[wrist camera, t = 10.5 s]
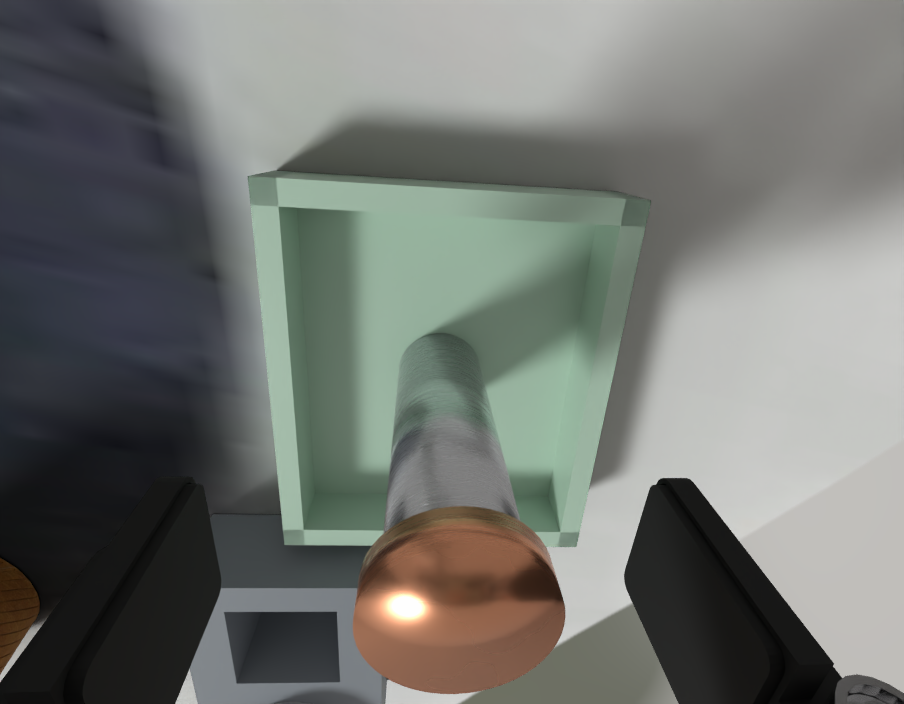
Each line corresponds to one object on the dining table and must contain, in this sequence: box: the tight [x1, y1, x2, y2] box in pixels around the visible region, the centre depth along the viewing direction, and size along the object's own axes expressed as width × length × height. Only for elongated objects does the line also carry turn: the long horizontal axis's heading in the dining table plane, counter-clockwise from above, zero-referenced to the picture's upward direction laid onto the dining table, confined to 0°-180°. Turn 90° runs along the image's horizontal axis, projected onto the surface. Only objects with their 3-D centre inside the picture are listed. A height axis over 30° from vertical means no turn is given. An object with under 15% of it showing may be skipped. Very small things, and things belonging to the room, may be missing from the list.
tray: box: [248, 171, 651, 547], centre depth 18 cm, size 14×12×3 cm
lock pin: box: [353, 333, 565, 694], centre depth 14 cm, size 4×4×11 cm
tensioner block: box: [190, 514, 387, 704], centre depth 22 cm, size 12×8×6 cm, turn 176°
